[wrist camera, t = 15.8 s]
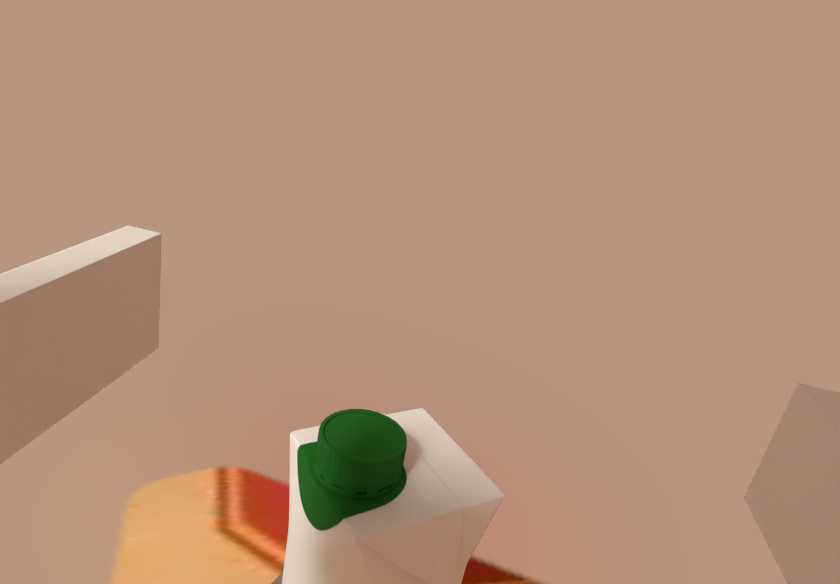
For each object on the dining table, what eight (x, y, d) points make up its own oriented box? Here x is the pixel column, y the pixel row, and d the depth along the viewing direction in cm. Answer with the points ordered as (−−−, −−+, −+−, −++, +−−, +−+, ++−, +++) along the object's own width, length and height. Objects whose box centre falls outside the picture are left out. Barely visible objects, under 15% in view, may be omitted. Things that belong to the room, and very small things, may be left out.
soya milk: (247, 674, 36) (278, 389, 29) (379, 621, 41) (434, 366, 34) (301, 831, 30) (358, 513, 22) (450, 746, 35) (538, 463, 27)
